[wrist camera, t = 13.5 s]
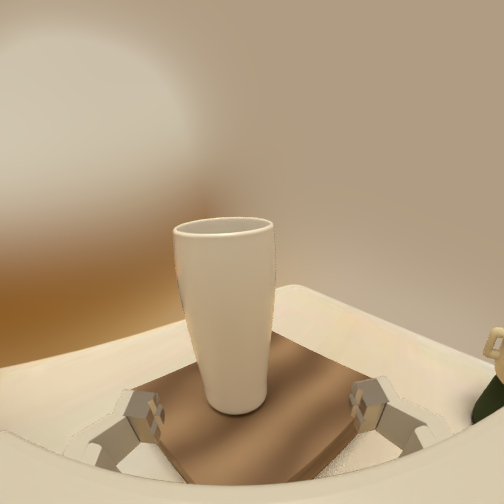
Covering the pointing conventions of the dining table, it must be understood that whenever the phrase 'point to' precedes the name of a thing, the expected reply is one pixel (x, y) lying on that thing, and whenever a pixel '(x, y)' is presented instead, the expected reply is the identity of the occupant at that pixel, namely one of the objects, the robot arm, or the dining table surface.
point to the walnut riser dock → (259, 422)
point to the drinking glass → (228, 305)
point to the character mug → (500, 388)
